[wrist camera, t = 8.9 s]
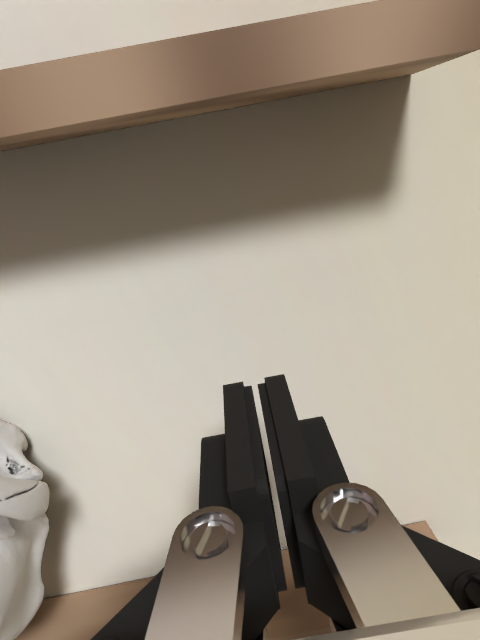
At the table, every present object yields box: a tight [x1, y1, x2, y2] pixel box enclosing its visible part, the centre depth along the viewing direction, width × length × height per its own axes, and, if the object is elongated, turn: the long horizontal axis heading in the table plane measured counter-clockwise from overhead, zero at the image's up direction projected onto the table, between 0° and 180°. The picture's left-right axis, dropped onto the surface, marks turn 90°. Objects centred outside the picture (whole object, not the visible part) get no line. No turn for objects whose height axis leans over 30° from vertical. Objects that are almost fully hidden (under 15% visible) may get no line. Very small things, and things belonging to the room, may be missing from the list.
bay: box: [0, 0, 480, 640], centre depth 13 cm, size 24×19×5 cm
